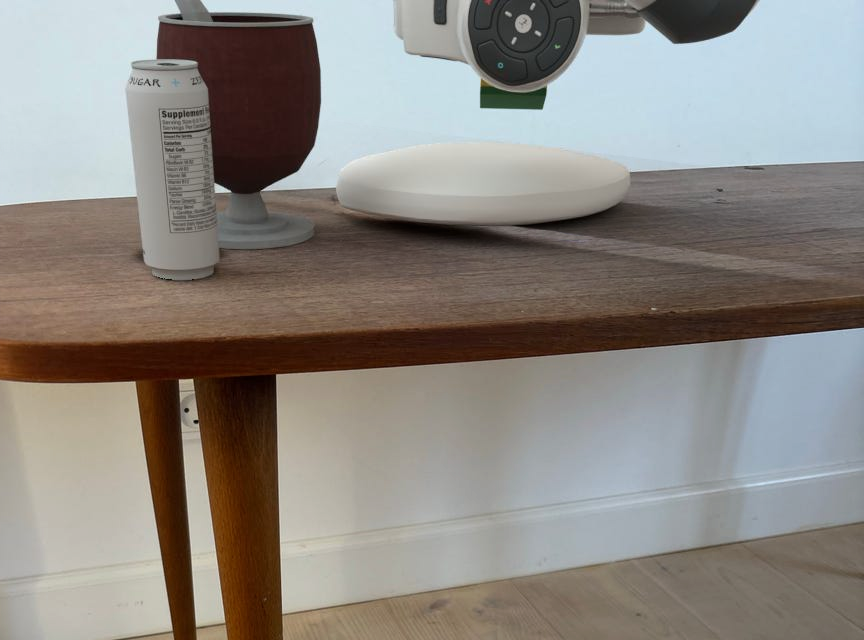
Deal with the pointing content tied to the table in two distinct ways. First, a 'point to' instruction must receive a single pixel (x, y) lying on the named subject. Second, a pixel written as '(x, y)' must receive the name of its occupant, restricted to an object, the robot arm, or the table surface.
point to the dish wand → (511, 98)
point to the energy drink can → (173, 167)
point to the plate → (482, 184)
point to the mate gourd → (252, 109)
